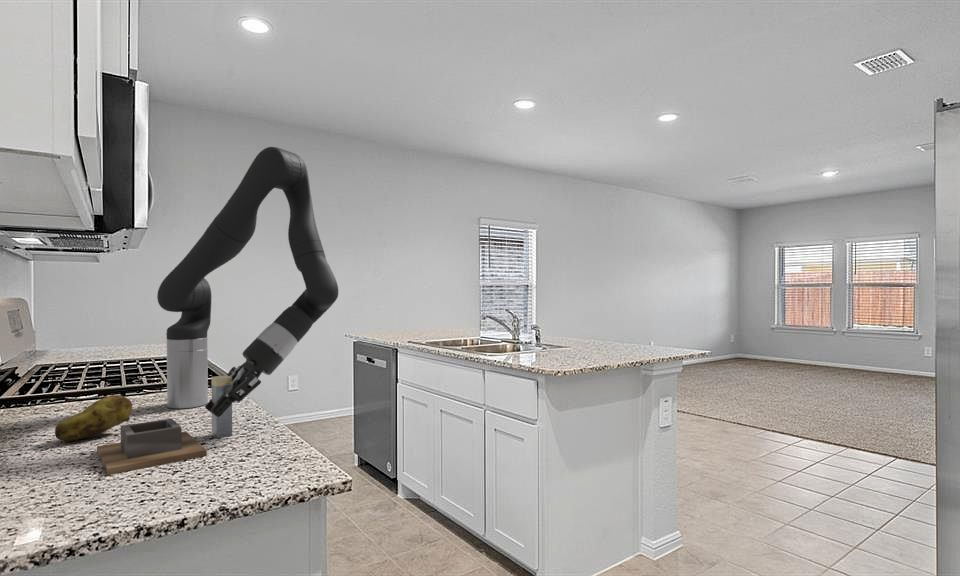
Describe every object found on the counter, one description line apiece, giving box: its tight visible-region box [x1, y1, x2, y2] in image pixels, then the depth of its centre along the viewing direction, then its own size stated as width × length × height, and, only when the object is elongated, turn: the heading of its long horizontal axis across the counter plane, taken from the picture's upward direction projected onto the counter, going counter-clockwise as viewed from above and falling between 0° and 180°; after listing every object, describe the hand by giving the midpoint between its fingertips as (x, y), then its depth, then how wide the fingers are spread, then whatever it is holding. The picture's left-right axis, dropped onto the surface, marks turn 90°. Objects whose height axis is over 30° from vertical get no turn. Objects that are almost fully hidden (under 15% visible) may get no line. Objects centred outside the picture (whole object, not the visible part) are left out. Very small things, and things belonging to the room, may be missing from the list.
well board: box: [96, 418, 208, 476], centre depth 100 cm, size 16×15×5 cm
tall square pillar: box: [210, 374, 233, 439], centre depth 112 cm, size 4×3×12 cm
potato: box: [54, 394, 134, 443], centre depth 111 cm, size 8×13×8 cm, turn 123°
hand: (211, 412), depth 111 cm, fingers open, 3 cm apart
